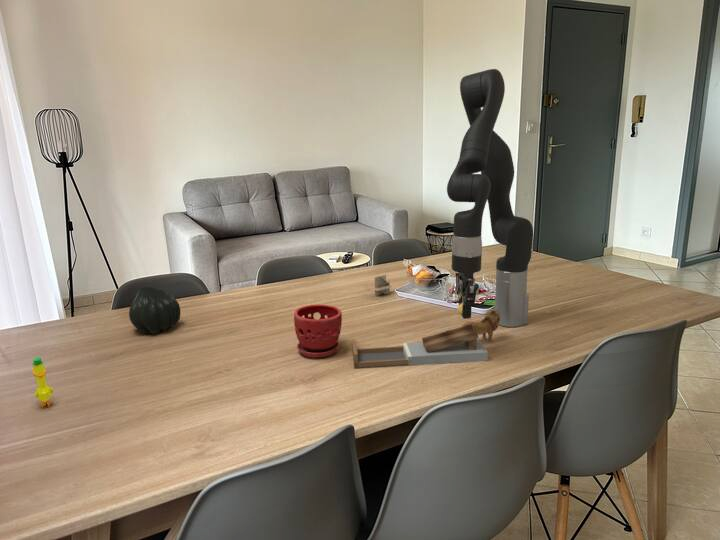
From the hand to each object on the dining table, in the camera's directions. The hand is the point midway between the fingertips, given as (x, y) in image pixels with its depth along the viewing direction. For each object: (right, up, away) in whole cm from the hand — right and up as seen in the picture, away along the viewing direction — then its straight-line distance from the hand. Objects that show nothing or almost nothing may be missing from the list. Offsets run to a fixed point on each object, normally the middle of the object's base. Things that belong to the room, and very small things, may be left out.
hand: (464, 315), depth 144 cm
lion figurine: (+6, -9, +11) cm, 15 cm away
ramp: (-4, -9, +2) cm, 10 cm away
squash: (-93, -7, +29) cm, 97 cm away
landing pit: (-23, -12, +1) cm, 26 cm away
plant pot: (-39, -11, +8) cm, 41 cm away
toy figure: (-101, -20, -17) cm, 105 cm away
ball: (0, +2, 0) cm, 2 cm away
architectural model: (-19, +2, +57) cm, 60 cm away
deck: (-5, -11, +2) cm, 13 cm away
